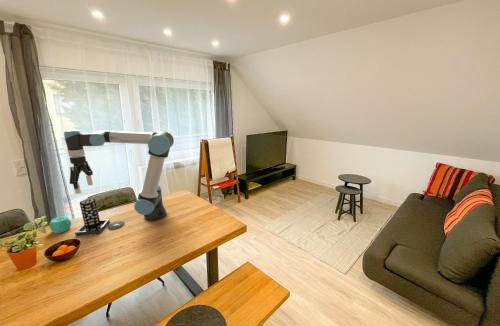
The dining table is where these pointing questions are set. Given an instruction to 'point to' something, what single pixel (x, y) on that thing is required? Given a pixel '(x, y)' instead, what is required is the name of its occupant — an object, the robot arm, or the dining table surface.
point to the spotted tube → (90, 214)
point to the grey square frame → (92, 232)
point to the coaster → (115, 225)
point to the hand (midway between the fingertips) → (84, 189)
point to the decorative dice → (60, 224)
